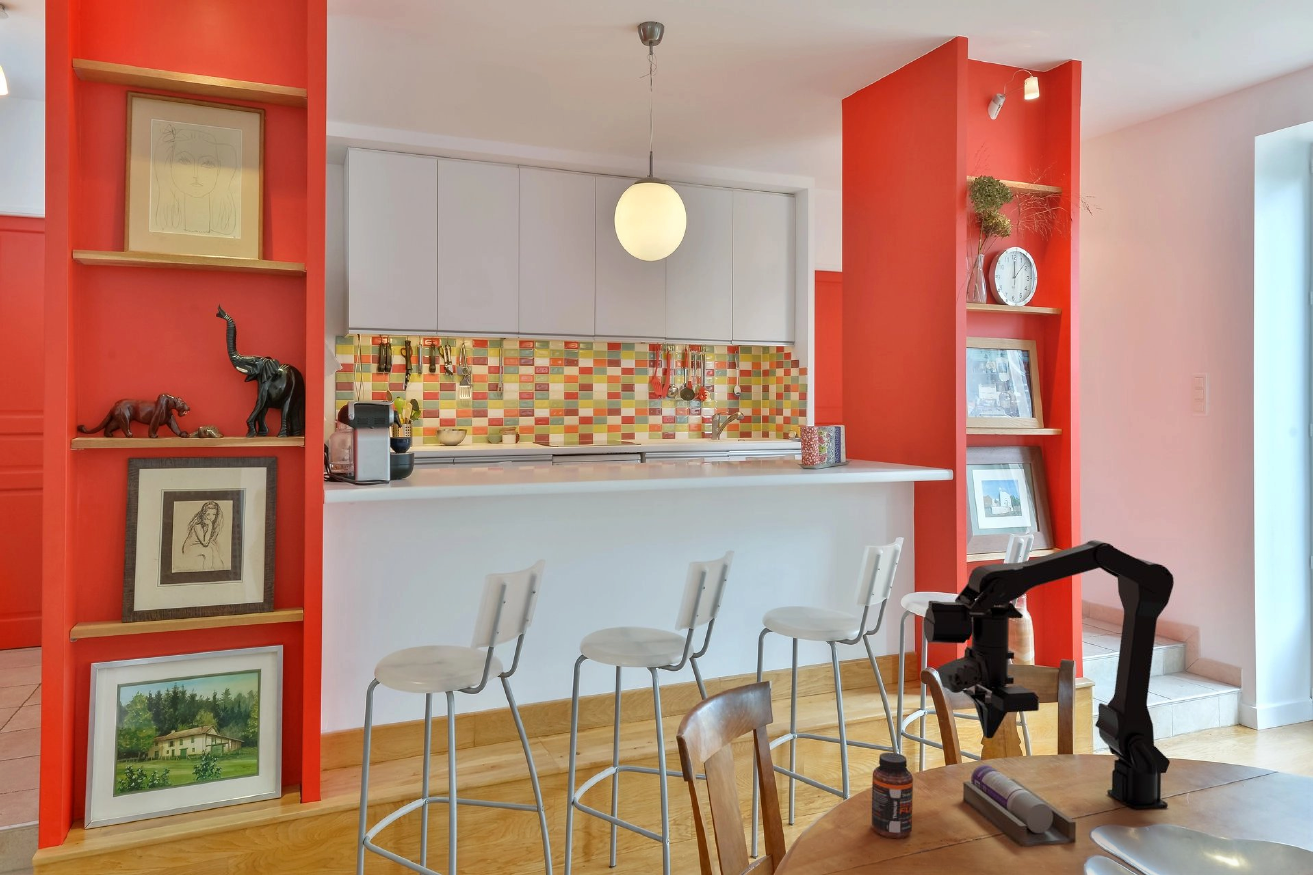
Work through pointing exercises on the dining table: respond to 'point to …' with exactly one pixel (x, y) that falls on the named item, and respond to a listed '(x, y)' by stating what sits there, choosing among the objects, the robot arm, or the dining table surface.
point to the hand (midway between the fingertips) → (988, 737)
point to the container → (1013, 798)
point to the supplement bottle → (892, 796)
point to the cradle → (1014, 828)
